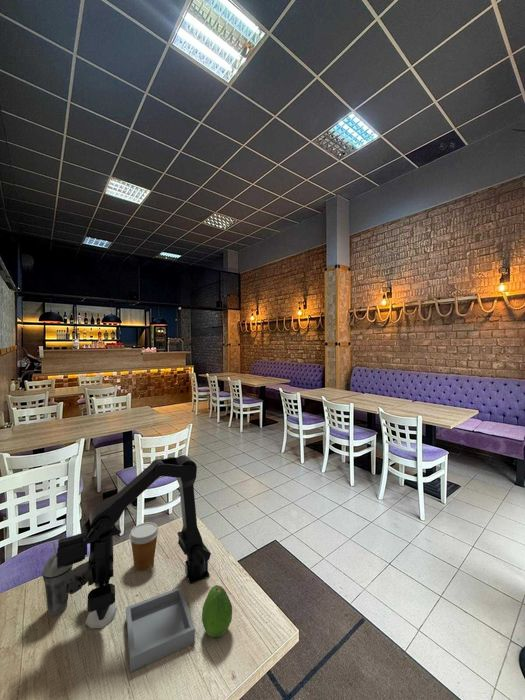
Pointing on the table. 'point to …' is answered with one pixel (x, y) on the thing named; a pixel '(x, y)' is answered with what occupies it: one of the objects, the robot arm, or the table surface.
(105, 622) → the flask
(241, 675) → the table surface
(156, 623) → the serving bin
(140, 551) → the disposable coffee cup
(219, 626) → the avocado
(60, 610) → the beverage cup
